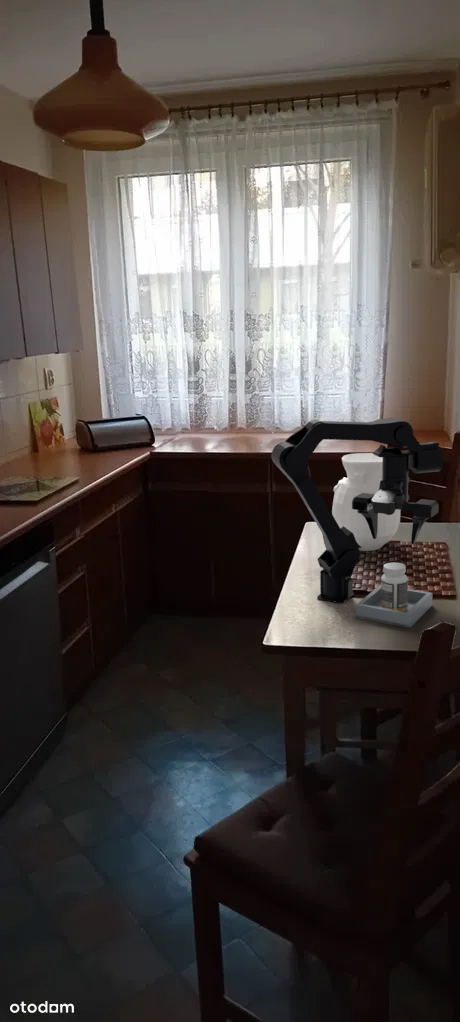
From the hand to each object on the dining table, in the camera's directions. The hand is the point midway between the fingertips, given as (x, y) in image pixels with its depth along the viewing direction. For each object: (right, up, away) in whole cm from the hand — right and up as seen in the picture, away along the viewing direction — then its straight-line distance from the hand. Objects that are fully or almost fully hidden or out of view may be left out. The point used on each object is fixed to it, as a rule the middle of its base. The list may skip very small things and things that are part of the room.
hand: (393, 541), depth 180 cm
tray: (-2, -15, -9) cm, 18 cm away
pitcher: (0, -3, +37) cm, 37 cm away
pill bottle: (-2, -15, -9) cm, 17 cm away
